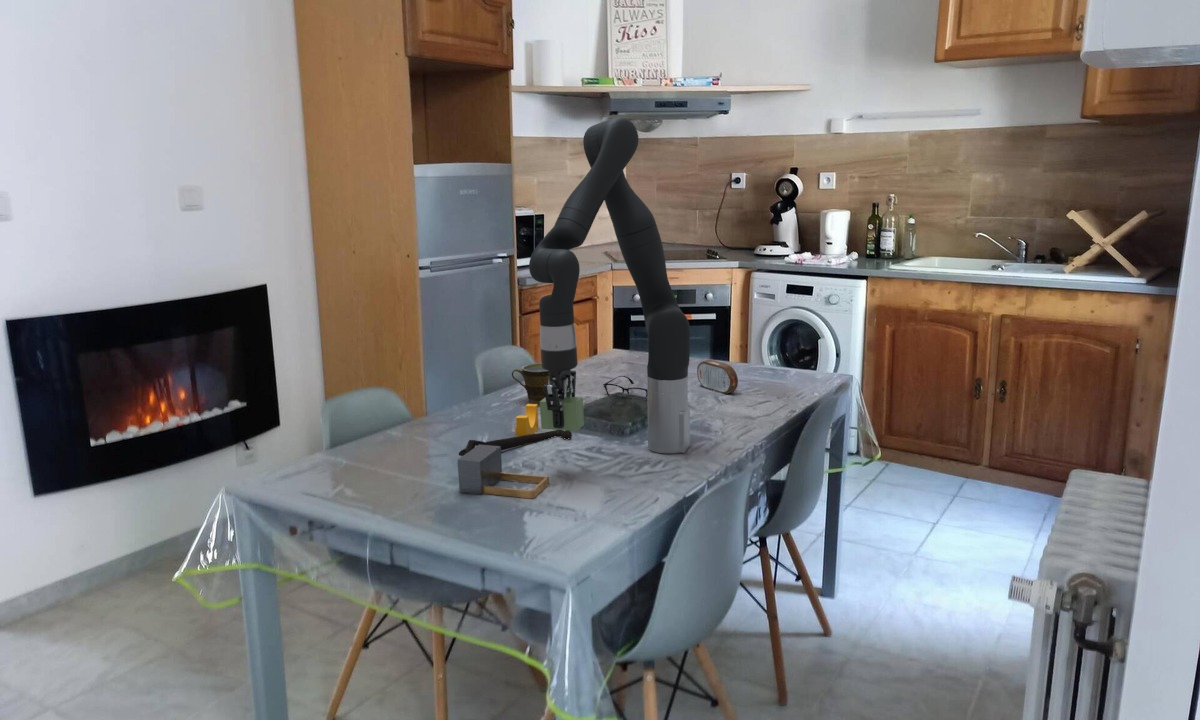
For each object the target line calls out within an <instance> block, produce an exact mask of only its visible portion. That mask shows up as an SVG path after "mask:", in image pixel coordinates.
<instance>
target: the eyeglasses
mask: <svg viewBox="0 0 1200 720" xmlns="http://www.w3.org/2000/svg"><path fill="white" fill-rule="evenodd" d="M621 377H622V378H623V377H624V378H626V379H627V380H628V381H629V382H630V385H634V384H635V382H634V381H633V380H632V378H630V377H629V376H626V375H619V376H616V377H615V378H613V379H610V380H609V381H607V382H605V383H603V384H602V386H603V388H604V390H605V391H606V392H605V393H606V394H607V396H609V395H610V394H609V391H608V388H607V386H615V387H617V388H619V389H621V390H622V393H624V394H625V391H626V392H627V395H628V394H630V390H642V391H645V398H646V397H647V388H642V387H628V388H626V387H623V386H622V385H617V384H615V383H611V382H612V381H614V380H616V379H617V378H621ZM622 393H621V394H622Z"/></svg>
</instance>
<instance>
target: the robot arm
mask: <svg viewBox="0 0 1200 720" xmlns="http://www.w3.org/2000/svg"><path fill="white" fill-rule="evenodd" d="M582 139H583V140H582V143H583V144H582V145H583V151H584V154H585V156H586V160H587V162H588V164H589V167H590V169H589V171H588V172H587V174H585V176H584V177H583V179H582V180H581V181H580V182H579V184H578V185H577V186H576V187H575V188H574V190H572V192H571V193H570V194H569V196H568V198H566V201H565V203H564V204H563V206H562V208H561V211H560V212H559V214H558V216H557V218H556V221H555V223H554V226H553V227H552V228H551V229H550V230H549V231H548V232H547V233H546V235H545V236H544V237H543V239H541V240H540V242H539V243H538V244H537V246H536V247H535V248H534V250H533V252H532V253H531V256H530V259H529V263H528V264H529V265H528V269H529V274H530V275H531V278H532V279H533V280H534V281H536V282H538V283H541V284H542V283H544V284H553V288H552V291H551V294H547V295H543V296H542V297H541V298H540V300H539V306H538V308H539V323H540V325H539V326H540V328H539V344H540V348H539V349H540V363H541V365H542V368H543V369H545V370H548V371H549V372H550V376H549V381H548V385H544V392H545V398H546V403H547V409H548V410H551V411H552V413H553V427H554V428H563V427H564V414H563V409H564V408H563V402H564V400H565V399H566V397H576V385H577V384H576V382H577V380H576V379H577V371H576V370H573V369H576V368H577V367H578V348H577V344H578V343H577V331H576V328H575V326H576V325H575V315H574V303H575V302H574V301H575V297H576V294H577V288H578V287H577V286H578V283H579V277H580V271H581V269H580V263H579V260H578V258H577V255H576V253H574V252H573V251H571V250H573V249H575V248H576V249H577V248H579V247H581V246H582V245H583V244H584V242H585V240H586V238H587V237H588V235H589V232H590V230H591V228H592V226H593V223H594V221H595V220H596V217H597V215H598V213H599V211H600V209H601V207H602V205H603V203H604V202H605V206H606V209H607V212H608V214H609V218H610V219H611V220H610V221H611V223H612V226H613V230H614V234H615V236H616V240H617V243H618V246H619V249H620V252H621V255H622V257H623V260H624V262H625V264H626V267H627V269H628V271H629V275H630V276H631V278H632V280H633V282H634V284H635V287H636V289H637V292H638V296H639V299H640V304H641V309H642V312H643V319H644V324H645V330H646V332H647V334H648V335H647V338H648V339H647V341H648V343H647V344H648V345H647V346H648V347H647V348H648V349H647V350H648V355H647V356H648V361H647V367H646V373H647V374H646V382H647V387H646V389H647V399H646V400H647V448H648V450H650V452H651V451H652V452H653V453H654V452H655V453H658V454H677V453H682V454H683V453H686V451H687V450H688V448H689V447H690V446H691V406H690V405H689V404H688V403H689V399H688V397H689V391H688V390H689V385H688V383H689V382H688V380H689V377H688V375H689V365H690V352H691V350H690V349H691V348H690V347H691V346H690V345H691V328H690V327H691V326H690V322H689V319H688V318H687V316H686V315H685V313H684V312H683V311H682V309H681V308H680V306H679V303H678V302H677V300H676V296H675V295H674V291H673V290H672V287H671V284H670V282H669V281H670V280H669V278H668V273H667V265H666V257H665V250H664V246H663V242H662V238H661V235H660V231H659V228H658V226H657V221H656V219H655V217H654V215H653V213H652V211H651V209H649V207H648V206H647V205H646V204H645V202H644V201H643V200H642V199H641V198H640V197H639V196H638V194H636V192H635V191H634V189H632V187H631V185H630V183H629V181H628V180H627V178H626V175H625V173H624V169H625V168H626V167H627V165H629V163H630V161H631V160H632V158H633V156H634V155H635V153H636V151H637V150H638V146H639V134H638V130H637V128H636V126H635V125H634V122H632V121H631V120H629V119H627V118H626V117H622V116H621V117H619V116H618V117H614V118H610V119H606V120H604V121H601V122H599V123H596V124H593V125H591V126H589V127H588V128H587V129H586V131H585V133H584V135H583V138H582ZM559 400H560V402H559ZM554 402H555V403H554ZM555 404H556V405H555Z"/></svg>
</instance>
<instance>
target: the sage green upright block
mask: <svg viewBox="0 0 1200 720" xmlns="http://www.w3.org/2000/svg"><path fill="white" fill-rule="evenodd" d="M559 402H560V400H559ZM554 403H555V402H554ZM555 405H556V404H555ZM563 408H564V409H563V414H564V427H563V428H554V427H553V413H552V411H551V410H548V409H547V403H546V398H544V399H543V400H541V401H540V405H539V411H540V412H539V414H540V427H541V430H550V431H554V430H564V431H565V430H569V431H570V432H571V431H573V432H575V431H576V432H577V431H579V430H580V429H581V428H582V427H583V426H584V425H585V419H584V416H585V415H584V399H583V397H581V396H575V397H566V399H565V400H564V402H563Z"/></svg>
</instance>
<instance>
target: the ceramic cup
mask: <svg viewBox="0 0 1200 720" xmlns="http://www.w3.org/2000/svg"><path fill="white" fill-rule="evenodd" d="M515 372H517V373H520V374H521V376H522V378H523V380H524V384H523V383H522V382H521V381H520V380H519V379H518V378H516V377H515V376H514V373H515ZM549 376H550V372H549V371H548V370H545V369H543V368H542V365H541V362H538V363H530V364H526V365H523V366H522V367H521V369H519V368H515V369H514V370H512V371H511V377H512V379H514V380H515V381H516V382H518V384H519V385H521V386H522V387H523V388H524V389H525V390H526V395H527V399H528V404H538V406H540V401H541V400H543V399H544V398H545V392H544V385H548V381H549Z"/></svg>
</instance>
